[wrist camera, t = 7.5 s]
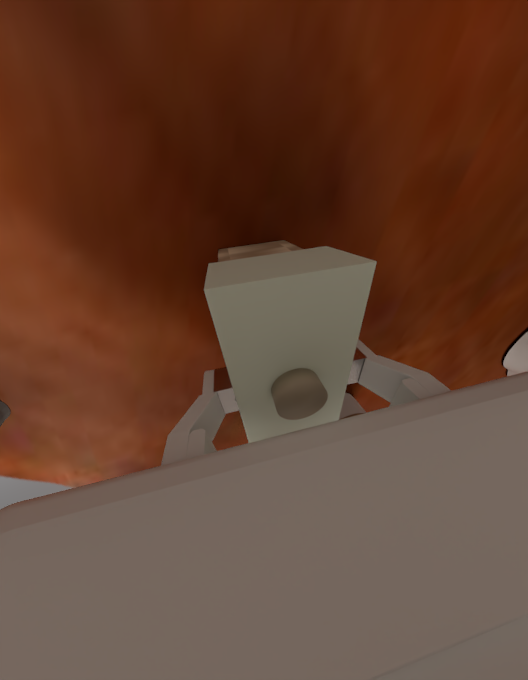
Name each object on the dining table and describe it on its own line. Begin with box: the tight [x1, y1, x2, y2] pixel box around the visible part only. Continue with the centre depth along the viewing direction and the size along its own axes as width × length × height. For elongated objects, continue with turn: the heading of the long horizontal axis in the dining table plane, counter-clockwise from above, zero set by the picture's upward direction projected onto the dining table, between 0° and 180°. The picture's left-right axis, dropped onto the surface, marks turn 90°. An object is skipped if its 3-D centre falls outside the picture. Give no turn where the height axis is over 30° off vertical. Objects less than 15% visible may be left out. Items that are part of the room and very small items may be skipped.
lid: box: [204, 246, 377, 443], centre depth 10 cm, size 6×11×5 cm, turn 6°
